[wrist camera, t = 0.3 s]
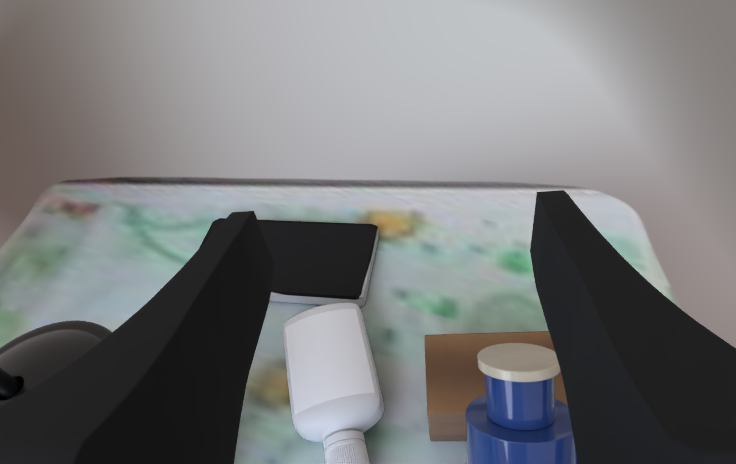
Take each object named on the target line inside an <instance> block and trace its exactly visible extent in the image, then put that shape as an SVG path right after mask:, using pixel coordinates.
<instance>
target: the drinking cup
mask: <svg viewBox="0 0 736 464" xmlns="http://www.w3.org/2000/svg"><path fill="white" fill-rule="evenodd" d="M111 333H112V332H111V331H110V330H108V329H107V328H105V327H103V326H101V325H98V324H95V323H91V322H86V321H65V322H58V323H53V324H50V325H46V326H43V327H40V328H37V329H35V330H32V331H30V332H28V333H25V334H23V335H21V336H19V337H18V338H16V339H14V340H12V341H10V342H9V343H7V344H6V345H4V346H3V347H1V348H0V407H1V406H2V405H4V404H6V403H8V402H9V401H11V400H13V399H15V398H16V397H18V396H20V395H21V394H23V393H25V392H27V391H28V390H30V389H32V388H33V387H35V386H37V385H38V384H40V383H41V382H43V381H45V380H46V379H48V378H49V377H51V376H52V375H54V374H55V373H57V372H59V371H60V370H62V369H63V368H65V367H66V366H67V365H69V364H70V363H72V362H73V361H75V360H76V359H78V358H79V357H81V356H82V355H83V354H85V353H86V352H87V351H89V350H90V349H91V348H93V347H94V346H95V345H97V344H98V343H99V342H101V341H102V340H103V339H105V338H106V337H107V336H109V335H110V334H111Z"/></svg>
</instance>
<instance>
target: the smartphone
mask: <svg viewBox="0 0 736 464" xmlns="http://www.w3.org/2000/svg"><path fill="white" fill-rule="evenodd" d="M224 221H225V219H222V218H220V219H218V220H215V221H213V223H212V225H211V227H210V229H209V231H208V233H207V234H206V236H205V238H204V240H203V242H202V244H201V246H200V248H201V247H202V246H203V244H204V243H205V242H206V241H207V240H208V239H209V238H210V236H211V235H212V234H213V233H214V232H215V231H216V230H217V228H218V227H219V226H220V225H221V224H222V223H223V222H224ZM257 221H258V223H259V226H260V228H261V230H262V233H263V235H264V238H265V240H266V243H267V245H268V248H269V250H270V253H271V255H272V258H273V260H274V263H275V267H274V275H273V283H272V289H271V296H270V300H269V301H276V302H290V303H304V304H317V305H327V304H334V303H354V304H357V305H358V306H359V307H360V306H364V305H365V302H366V297H367V292H368V287H369V282H370V277H371V272H372V267H373V262H374V257H375V252H376V247H377V243H378V238H379V234H378V227H377V226H375V225H373V224H353V223H327V222H301V221H275V220H257ZM200 248H199V249H200Z"/></svg>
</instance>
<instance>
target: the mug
mask: <svg viewBox="0 0 736 464" xmlns="http://www.w3.org/2000/svg"><path fill="white" fill-rule="evenodd" d="M477 363H478V368H479V369H480V371H482V372H483V373H484V378H485V395H484V396H482V397H479V398H477V399H475V400H474V401H472V402H471V403H470V404H469V405H468V407H467V409H466V412H465V417H466V437H467V457H468V464H578V461H577V455H576V449H575V443H574V438H573V432H572V426H571V420H570V415H569V409H568V405H566V404H564V403H563V402H561V401H559V400H556V399H555V376H556V375H558V374H559V372H560V371H561V370H560V366H559V363H558V360H557V356H556V353H555V351H553V350H551V349H548V348H546V347H542V346H538V345H533V344H526V343H504V344H497V345H492V346H489V347H486V348H484V349H482V350H481V351H480V352H479V353H478V355H477Z"/></svg>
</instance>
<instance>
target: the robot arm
mask: <svg viewBox="0 0 736 464" xmlns="http://www.w3.org/2000/svg"><path fill="white" fill-rule="evenodd" d="M530 252H531V259H532V265H533V272H534V277H535V283H536V288H537V292H538V295H539V299H540V302H541V306H542V309H543V312H544V316H545V319H546V323H547V326H548V329H549V333H550V336H551V339H552V343H553V346H554V349H555V353H556V356H557V360H558V363H559V366H560V370H561V375H562V379H563V383H564V388H565V393H566V399H567V404H568V409H569V415H570V420H571V426H572V432H573V438H574V443H575V449H576V455H577V461H578V464H736V348H734V347H733V346H731V345H730V344H728V343H727V342H725V341H724V340H723V339H721V338H720V337H718V336H717V335H715V334H714V333H712V332H711V331H710V330H708V329H707V328H705V327H704V326H702V325H701V324H699V323H698V322H696V321H695V320H694V319H693V318H691V317H690V316H689V315H687V314H686V313H685V312H684V311H682V310H681V309H680V308H679V307H677V306H676V305H675V304H674V303H672V302H671V301H670V300H669V299H668V298H666V297H665V296H664V295H663V294H662V293H660V292H659V291H658V290H657V289H656V288H655V287H654V286H652V285H651V284H650V283H649V282H648V281H647V280H646V279H645V278H644V277H643V276H642V275H640V274H639V273H638V272H637V271H636V270H635V269H634V268H633V267H632V266H631V265H630V264H629V263H628V262H627V261H626V260H625V259H624V258H623V257H622V256H621V255H620V254H619V253H618V252H617V251H616V250H615V249H614V248H613V246H612V245H611V244H610V243H609V242H608V241H607V240H606V239H605V238H604V237H603V236H602V235H601V234H600V232H599V231H598V230H597V229H596V228H595V227H594V226H593V224H592V223H591V222H590V221H589V220H588V219H587V217H586V216H585V215H584V214H583V213H582V211H581V210H580V209H579V208H578V207H577V205H576V204H575V203H574V202H573V200H572V199H571V198H570V196H569V195H568V194H567V193H566V192H565V191H564V190H562V191H547V192H537V197H536V206H535V215H534V223H533V232H532V241H531V249H530ZM274 267H275V263H274V260H273V258H272V255H271V253H270V250H269V248H268V245H267V243H266V240H265V238H264V235H263V233H262V230H261V228H260V226H259V223H258V221H257V218H256V216H255V213H254V211H248V212H233V213H231V214H230V215H229V216H228V217H227V218H226V219H225V221H224V222H223V223H222V224H221V225H220V226H219V227H218V228H217V230H216V231H215V232H214V233H213V234H212V235H211V236H210V238H209V239H208V240H207V241H206V242H205V243H204V244H203V246H202V247H201V248H200V249H199V250H198V251H197V252H196V253H195V254H194V255H193V257H192V258H191V259H190V260H189V261H188V262H187V263H186V264H185V265H184V267H183V268H182V269H181V270H180V271H179V272H178V273H177V274H176V275H175V276H174V277H173V278H172V279H171V280H170V281H169V282H168V283H167V284H166V285H165V286H164V287H163V288H162V289H161V290H160V291H159V292H158V293H157V294H156V295H155V296H154V297H153V298H152V299H151V300H150V301H149V302H148V303H147V304H145V305H144V306H143V307H142V308H141V309H140V310H139V311H138V312H136V313H135V314H134V315H133V316H132V317H131V318H129V319H128V320H127V321H126V322H125V323H124V324H122V325H121V326H120V327H119V328H118V329H116V330H115V331H114V332H112V333H111V334H110V335H109V336H107V337H106V338H105V339H103V340H102V341H101V342H99V343H98V344H97V345H95V346H94V347H93V348H91V349H90V350H89V351H87V352H86V353H85V354H83V355H82V356H81V357H79V358H78V359H76V360H75V361H73V362H72V363H70V364H69V365H67V366H66V367H65V368H63V369H62V370H60V371H59V372H57V373H55V374H54V375H52V376H51V377H49V378H48V379H46V380H45V381H43V382H41V383H40V384H38V385H37V386H35V387H33V388H32V389H30V390H28V391H27V392H25V393H23V394H21V395H20V396H18V397H16V398H15V399H13V400H11V401H9V402H8V403H6V404H4V405H2V406H1V407H0V464H234V458H235V450H236V444H237V437H238V430H239V423H240V417H241V411H242V406H243V400H244V394H245V388H246V384H247V379H248V375H249V371H250V367H251V364H252V360H253V357H254V353H255V350H256V346H257V343H258V340H259V336H260V333H261V329H262V326H263V322H264V319H265V315H266V311H267V308H268V304H269V300H270V296H271V289H272V283H273V275H274Z"/></svg>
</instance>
